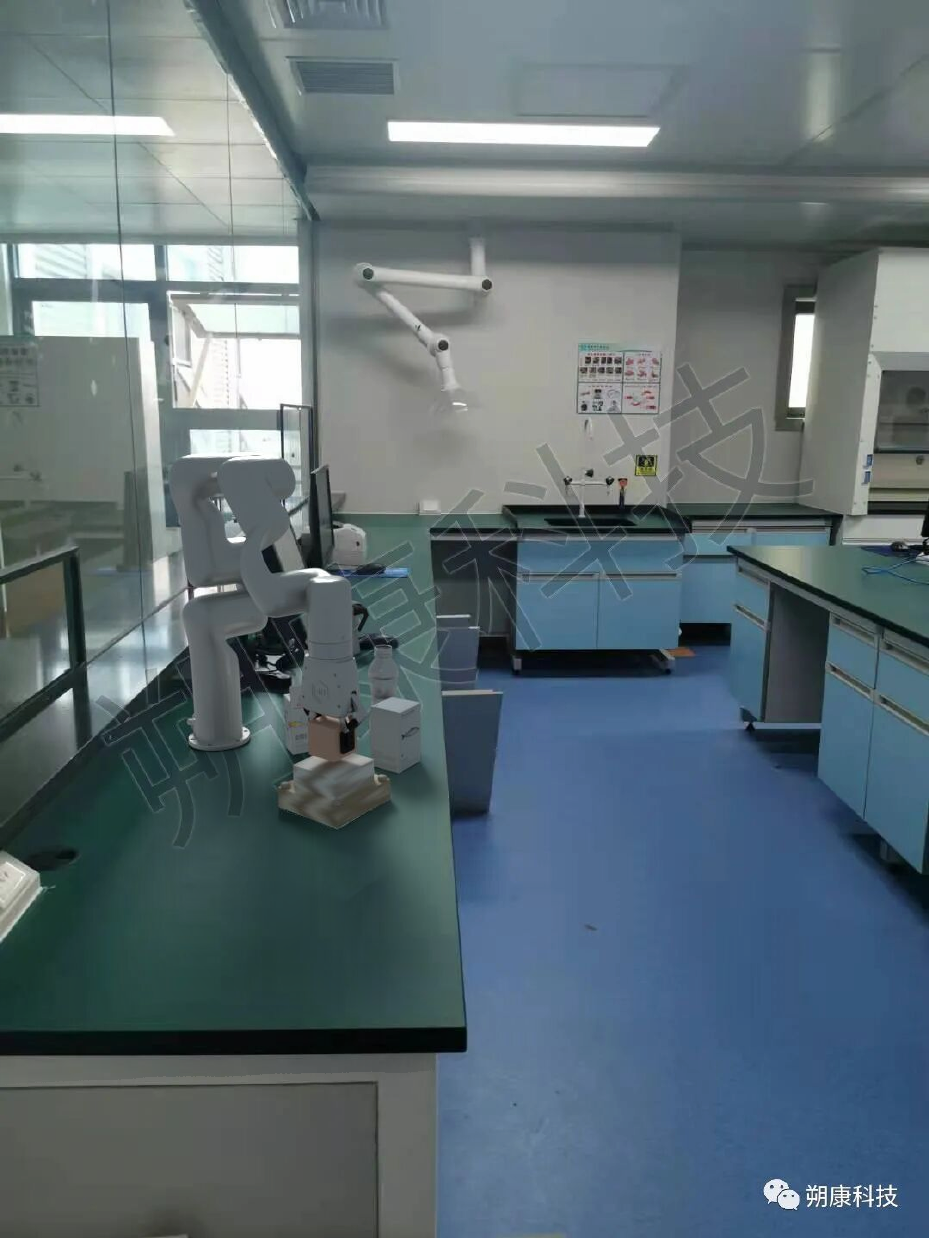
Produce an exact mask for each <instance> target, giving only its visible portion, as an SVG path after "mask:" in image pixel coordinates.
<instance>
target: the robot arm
mask: <svg viewBox="0 0 929 1238" xmlns="http://www.w3.org/2000/svg"><path fill="white" fill-rule="evenodd" d="M296 479H297V478H296V474H295V472H294V470H293V468H292V466H291V464H289V462H288V461H287V460H286V459H285V458H283V457H281V456H279V455H272V454H262V453H256V452H224V453H223V452H220V453H219V452H218V453H217V452H210V453H209V452H206V453H196V454H188V455H184V456H181V457H179V458H177V459H176V460H174V462H173V463H172V464H171V465H170V468H169V473H168V489H169V494H170V497H171V500H172V502H173V505H174V508H175V510H176V513H177V516H178V518H179V519H178V520H179V525H180V537H181V545H182V553H183V563H184V571H185V575H186V578H187V580H188V582H189V584H190V585H191V586H193V587H195V588H200V589H201V588H202V589H203V588H204V589H207V588H215V587H216V588H217V587H223V586H230V585H235V586H236V589H235V590H229V591H219V592H212V593H206V594H202V595H198V596H195V597H193V598H191V599H190V600H188V601H187V602H186V603H185V605H184V607H183V608H182V612H181V616H182V618H181V619H182V625H183V628H184V632H185V636H186V641H187V644H188V649H189V650H188V651H189V659H190V671H191V683H192V684H191V686H192V698H193V699H192V700H193V711H194V713H193V714H192V715H191V717H189V718H187V720H186V723H187V725H189V726H192V729H193V732H192V733H190V735H189V736H188V744H189V746H190V747H191V748H193V749H196V750H199V751H200V750H201V751H205V752H219V751H225V750H226V751H227V750H232V749H235V748H238V747H242V746H243V745H245V744H246V743H248V742H250V741H249V740H251V731H250V729H248V727H245V726H244V725H243V715H242V714H243V713H242V699H241V698H242V697H241V694H242V693H241V682H240V681H241V678H240V677H241V676H240V664H239V663H240V662H239V658H238V655H237V653H236V652H235V650H233V648H232V647H231V646H230V645H229V644H228V642H227V639H231V638H235V637H239V636H245V635H249V634H250V635H251V634H253V633H258V632H260V631H262V630H264V628H265V627H266V625H267V623H268V620H269V618H277V619H278V618H283V617H288V616H292V615H293V616H294V615H298V614H303V613H306V623H307V624H306V627H307V628H306V629H307V638H306V639H305V644H306V645H307V653H306V654H305V655H304V658H303V664H302V671H301V684H302V685H301V684H300V685H301V694H300V695H299V697H298V701H299V703H300V704H301V706H302V707H303V710H304V712H305V713H306V715H307V716H308V722H309V721H311V720H314V719H316V718H318V717H321V716H323V715H325V716H329V717H333V718H337V719H339V721H340V725H341V728H342V732H340V753H341V754H346V753H348V752H350V751H352V750H354V749H355V729H356V728H357V729H358V728H359V726H360V725H361V724H362V723H363V721H365V720H366V719H367V718H368V716H369V713H368V711H367V709H366V708H365V706H364V705H363V704H362V702H361V692H360V691H361V689H360V679H359V671H358V666H357V662H356V657H354V656H353V644H352V600H353V599H352V585H351V582H350V580H349V579H348V578H347V577H344V576H341V575H333V574H331V573H330V572H329V571H327V570H325V569H323V568H319V567H312V568H311V567H310V568H302V569H294V570H288V571H282V572H281V571H280V572H275V573H272V572H271V571H270V569H269V568H268V565H267V564H266V562H265V560H264V556H263V553H262V551H264V550H265V549H267V548H269V547H270V546H272V545H273V544H275V543H277V541H279V540H280V539H281V538H283V536H284V535H286V533H287V532H288V530H289V528H290V525H291V520H290V516H289V514H288V513H287V511H286V509H285V508H284V506H283V504H282V503H281V501H284V500H288V499H289V498H291V497H292V495H294V492H295V489H296V487H297V486H296V484H297V482H296V481H297V480H296ZM210 498H211V499H210ZM213 498H224V500H225V502H226V504H227V505H228V507H229V509H230V510H231V512H232V514H233V516H234V517H235V520H236V522H237V524H238V525H239V527H240V529H241V531H242V533H243V534H244V536H245V537H244V536H243V537H242V536H238V537H227V536H226V535H227V534H226V526H225V525H226V524H225V517H224V515H223V514H222V512H221V510H220V509H219V508H218V506H217V505H216V504H215V503H214V501H213V500H212V499H213ZM346 717H348V719H349V723H347V720H346Z"/></svg>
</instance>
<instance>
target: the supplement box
mask: <svg viewBox="0 0 929 1238" xmlns="http://www.w3.org/2000/svg"><path fill="white" fill-rule="evenodd" d="M369 714H370V715H369V716H370V717H369V721H370V728H369V731H370V734H369V735H370V737H369V738H370V758H371V759H374V768H379V769H381V770H385V771H388V772H392V773H396V774H401V773H403V772H404V771H405V770H407V769H408V768H411V767H413V766H414V765H416V764H417V763H419V762H421V702H420V701H419V702H418V701H414V700H410V699H404V698H401V697H400V698H399V697H397V698H396V697H390V698H388V699H386V700H384V701H382V702H379V703H377V704H375V705H373V706H369Z"/></svg>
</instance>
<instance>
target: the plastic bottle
mask: <svg viewBox="0 0 929 1238" xmlns="http://www.w3.org/2000/svg"><path fill="white" fill-rule="evenodd" d="M373 656H374V657H375V658H373V660H372V662H371V663H370V665H369V667H368V669H367V674H368V675H367V676H368V681H369V686H370V687H369V688H370V695H371V696H370V698H371V704H370V705H371V706H373V705H375V704H377V703H379V702H382V701H384V700H386V699H388V698H390V697H396V698H398V684H399V675H400V671H399V670H400V669H399V666H398V665H397V663H396V662H395V661H394V659H393V658H392V657H393V646H391V645H387V644H379V645H375V646H374V652H373ZM371 706H370V707H371ZM368 722H369V724H368V726H369V727H368V728H369V729H370V720H369V721H368Z"/></svg>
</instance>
